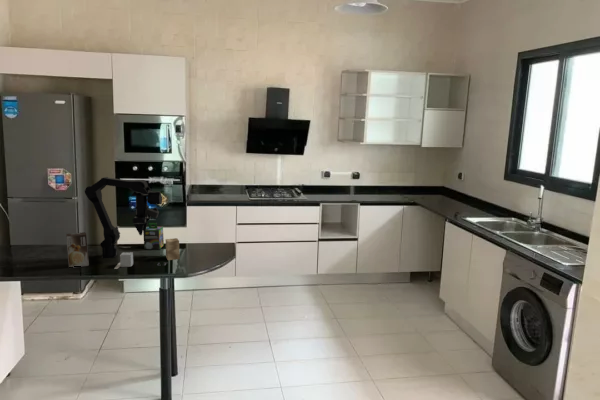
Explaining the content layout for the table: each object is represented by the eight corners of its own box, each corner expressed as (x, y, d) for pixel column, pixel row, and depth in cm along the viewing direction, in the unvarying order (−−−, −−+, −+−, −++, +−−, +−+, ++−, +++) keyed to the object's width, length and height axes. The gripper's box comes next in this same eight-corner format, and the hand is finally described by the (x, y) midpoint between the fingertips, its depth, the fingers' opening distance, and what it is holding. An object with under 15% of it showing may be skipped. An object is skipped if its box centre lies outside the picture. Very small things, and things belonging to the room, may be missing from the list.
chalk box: (164, 245, 279) (163, 220, 277) (160, 249, 270) (159, 224, 268) (148, 245, 279) (147, 220, 277) (143, 249, 270) (142, 224, 268)
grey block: (120, 266, 236) (120, 255, 235) (122, 264, 241) (122, 252, 240) (131, 266, 236) (130, 255, 235) (133, 263, 241) (132, 252, 240)
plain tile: (113, 269, 233) (113, 268, 233) (119, 263, 243) (119, 262, 243) (135, 268, 234) (135, 268, 234) (139, 262, 244) (139, 262, 244)
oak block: (167, 260, 248) (167, 241, 247) (166, 257, 254) (165, 239, 252) (179, 259, 251) (179, 240, 249) (177, 256, 256) (177, 238, 255)
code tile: (147, 268, 235) (147, 267, 235) (152, 261, 247) (152, 260, 247) (172, 267, 236) (172, 267, 236) (175, 261, 248) (175, 260, 248)
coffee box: (88, 262, 243) (86, 231, 241) (89, 265, 238) (87, 234, 235) (68, 264, 239) (66, 233, 237) (68, 268, 234) (66, 236, 231)
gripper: (154, 207, 242) (155, 237, 245) (160, 201, 261) (161, 229, 263) (131, 207, 241) (132, 237, 243) (139, 201, 259) (140, 229, 262)
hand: (142, 233), depth 253 cm, fingers open, 9 cm apart
